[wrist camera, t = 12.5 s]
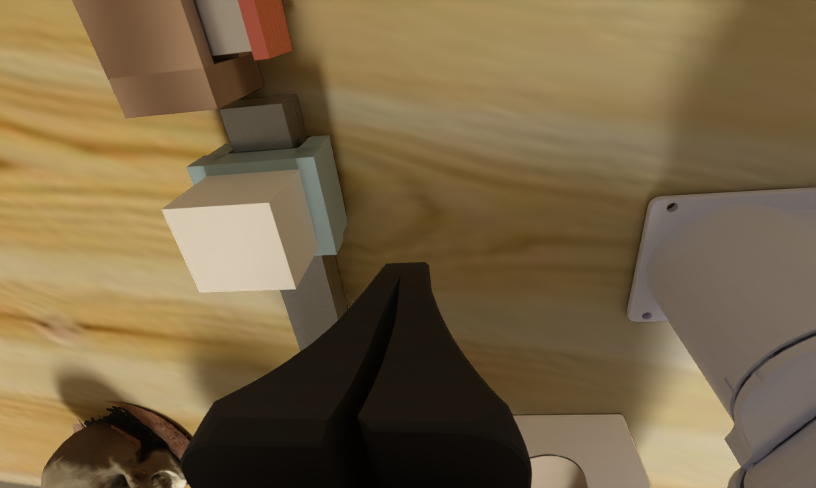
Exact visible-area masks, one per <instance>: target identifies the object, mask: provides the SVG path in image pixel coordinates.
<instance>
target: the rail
mask: <svg viewBox="0 0 816 488" xmlns="http://www.w3.org/2000/svg"><path fill="white" fill-rule="evenodd" d="M219 111H220V114H221V117H222V120H223V123H224V126H225V129H226V132H227V135H228V138H229V141H230V144H231V147H232V149H233V152H234V153H245V152H257V151H269V150H281V149H293V148H299V147H300V146H301V145H302V144H303V143H304V142H305V141H306V140H307V136H306V132H305V128H304V124H303V120H302V116H301V111H300V107H299V103H298V99H297V95H296V94H293V95H283V96H273V97H263V98H254V99H244V100H238V101H236V102H234V103H232V104H230V105H228V106H226V107H224V108H222V109H220V110H219ZM280 291H281V294H282V297H283V300H284V303H285V306H286V309H287V312H288V315H289V318H290V321H291V324H292V327H293V330H294V333H295V336H296V338H297V341H298V344H299V347H300V350H301V351H302V350H303V349H305V348H306V347H307V346H309V345H310V344H312V343H313V342H314V341H315V340H316V339H318V338H319V337H320V336H321V335H322V334H324V333H325V332H326V331H327V330H328V329H329V328H330V327H331V326H332V325H333V324H335V323H336V322H337V321H338V320H339V318H340V317H341V316H342V315H343V314H344V313H345V312H346V311H347V310H348V307H347V302H346V298H345V294H344V290H343V286H342V282H341V277H340V273H339V269H338V265H337V261H336V257H335V255H319V256H314V257H313V259H312V261H311V263H310V264H309V266H308V268H307V270H306V272H305V274H304V276H303V277H302V279H301V281H300V283H299V285H298V287H297V289H290V290H280Z"/></svg>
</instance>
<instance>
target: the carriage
mask: <svg viewBox="0 0 816 488" xmlns="http://www.w3.org/2000/svg"><path fill="white" fill-rule="evenodd" d="M187 170H188V172H189V174H190V177H191V179H192V182H193V184H194V186H193V187H191V188H190V189H189V190H187V191H186V192H185V193H183V194H182V195H181V196H179V197H178V198H176V199H175V200H174V201H172V202H171V203H170V204H168V205H167V206H166V207H164V208H163V209H161V210H162V212H163V214H164V217H165V219H166V221H167V223H168V225H169V227H170V229H171V232H172V234H173V236H174V238H175V240H176V242H177V245H178V247H179V249H180V251H181V253H182V255H183V257H184V260H185V262H186V264H187V266H188V268H189V270H190V273H191V275H192V277H193V279H194V281H195V283H196V285H197V288H198V290H199V292H227V291H258V290H290V289H297V287H298V285H299V283H300V281H301V279H302V277H303V276H304V274H305V272H306V270H307V268H308V266H309V264H310V263H311V261H312V259H313V257H314V256H319V255H337V253H338V251H339V249H340V247H341V245H342V242H343V240H344V237H343V233H344V230H345V228H346V226H347V224H348V221H347V216H346V212H345V207H344V202H343V197H342V193H341V188H340V183H339V179H338V174H337V169H336V165H335V160H334V155H333V150H332V146H331V141H330V136H329V135H323V136H311V137H309V138H308V139H307V140H306V141H305V142H304V143H303V144H302V145H301V146H300V147H299V148H293V149H281V150H269V151H257V152H245V153H234V152H233V149H232V147H231V144H225V145H223V146H222V147H220V148H218V149H217V150H215V151H214V152H212V153H211V154H209V155H208V156H203V157H201V158H200V159H198V160H197V161H195V162H194V163H192V164H190V165H189V166H187Z"/></svg>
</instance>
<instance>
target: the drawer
mask: <svg viewBox="0 0 816 488" xmlns="http://www.w3.org/2000/svg"><path fill="white" fill-rule="evenodd" d="M193 1H194V4H195V7H196V10H197V13H198V17H199V20H200V23H201V26H202V29H203V32H204V35H205V38H206V41H207V44H208V47H209V50H210V53H211V56H215V55H224V54H232V53H240V52H249V51H252V54H253V57H254V60H262V59H270V58H273V57H276V56H278V55H281V54H284V53H287V52H290V51H293V49H292V45H291V41H290V36H289V32H288V28H287V24H286V19H285V15H284V11H283V6H282V2H281V0H193Z"/></svg>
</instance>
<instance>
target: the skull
mask: <svg viewBox="0 0 816 488" xmlns="http://www.w3.org/2000/svg"><path fill="white" fill-rule="evenodd" d="M108 402H111V403H114V404H117V405H119V406H122V407H124V408H121V407H118V408H117V407H116V406H112V407H113V408H114V409H111V408H110V409H108V408H107V409H106V410H109V411H110V412H112V413H110V415H109V416H106V417H104V419H103V420H102V419H99V420H98V421H94V418H91V419H92V420H91V421H90V422H89V421H85V422H84V425H86V427H85V426H84V425H83V424H82V423H81V422H80V420H79V419H78V422H79V424H77V425H75V424H73V429H74V434H73V435H72V436H71V437H69V438H68V439H67V440H66V441H65V442H64V443H63V444H62V445H61V446H60V447H59V448H58V449H57V450H56V452H55V453H54V454H53V456H52V457H51V458H50V459H49V461H48V463H47V464H46V466H45V467H44V470H43V473H42V480H41V488H184V487H185V486H186V485H187V484H188V483H187V481H186V479H185V477H184V475H183V473H182V470H181V457H182V455H183V453H184V452H185V450H186V448H187V446H188V445H189V443H190V440H189V439H187V438H186V437H187V435H186V436H184V435H185V434H184V435H183V434H182V433H181V432H180V430H179V431H178V430H177V429H179V428H177V429H176V428H174V426H173V425H172V424H170V423H169V422H168V421H165V420H166V419H165V420H164V419H162V418H163V417H162V418H161V417H159V416H156V415H157V414H156V413H153V412H152V413H151V411H150V412H147V411H146V410H144V409H142V408H139V407H137V406H134V405H132V404H131V405H130V404H126V403H122V402H115V401H108ZM121 409H122V410H123V411H125V412H122V411H121ZM117 410H118V411H117ZM119 410H120V411H121V412H120V411H119ZM126 415H127V416H126ZM99 417H100V416H99ZM74 425H75V426H74ZM119 446H120V447H119Z"/></svg>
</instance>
